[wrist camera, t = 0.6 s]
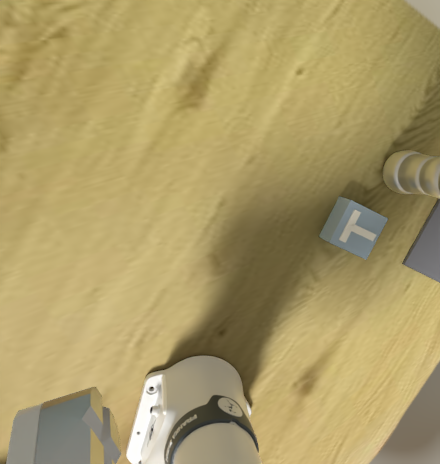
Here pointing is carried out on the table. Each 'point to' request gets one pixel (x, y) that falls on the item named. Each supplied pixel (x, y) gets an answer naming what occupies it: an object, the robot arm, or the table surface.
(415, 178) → the plastic bottle
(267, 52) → the table surface
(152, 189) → the table surface
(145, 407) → the robot arm
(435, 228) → the charcoal mat
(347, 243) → the letter block
